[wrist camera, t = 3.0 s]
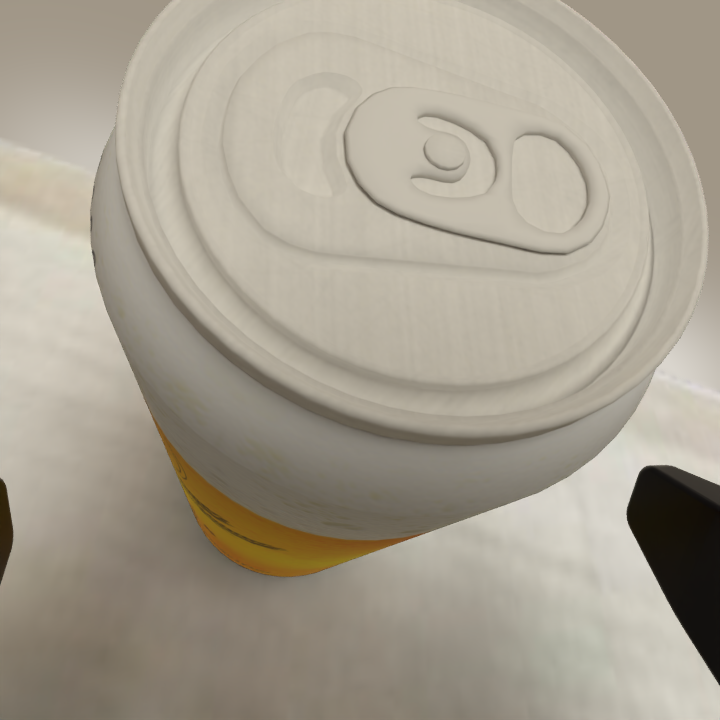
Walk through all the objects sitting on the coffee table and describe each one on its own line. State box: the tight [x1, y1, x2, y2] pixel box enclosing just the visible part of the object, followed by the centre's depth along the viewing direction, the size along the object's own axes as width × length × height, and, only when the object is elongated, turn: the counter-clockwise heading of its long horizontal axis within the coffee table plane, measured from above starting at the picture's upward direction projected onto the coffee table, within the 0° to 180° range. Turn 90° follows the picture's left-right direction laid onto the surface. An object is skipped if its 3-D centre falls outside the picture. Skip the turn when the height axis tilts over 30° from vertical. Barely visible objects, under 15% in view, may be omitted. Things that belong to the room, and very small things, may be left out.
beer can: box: [90, 0, 709, 577], centre depth 12 cm, size 6×6×15 cm
